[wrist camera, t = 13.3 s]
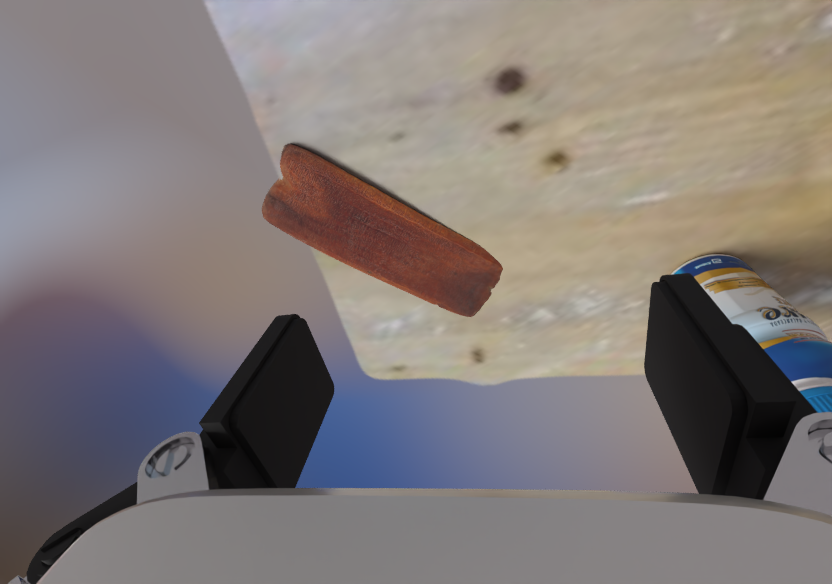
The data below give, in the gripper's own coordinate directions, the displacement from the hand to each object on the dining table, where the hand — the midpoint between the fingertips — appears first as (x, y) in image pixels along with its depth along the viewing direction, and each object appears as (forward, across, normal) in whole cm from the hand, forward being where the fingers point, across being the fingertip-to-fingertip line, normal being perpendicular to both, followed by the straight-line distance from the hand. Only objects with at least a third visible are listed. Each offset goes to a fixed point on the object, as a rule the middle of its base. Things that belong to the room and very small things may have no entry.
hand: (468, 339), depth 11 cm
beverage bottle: (+31, -20, +20) cm, 42 cm away
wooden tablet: (+31, +12, +10) cm, 35 cm away
